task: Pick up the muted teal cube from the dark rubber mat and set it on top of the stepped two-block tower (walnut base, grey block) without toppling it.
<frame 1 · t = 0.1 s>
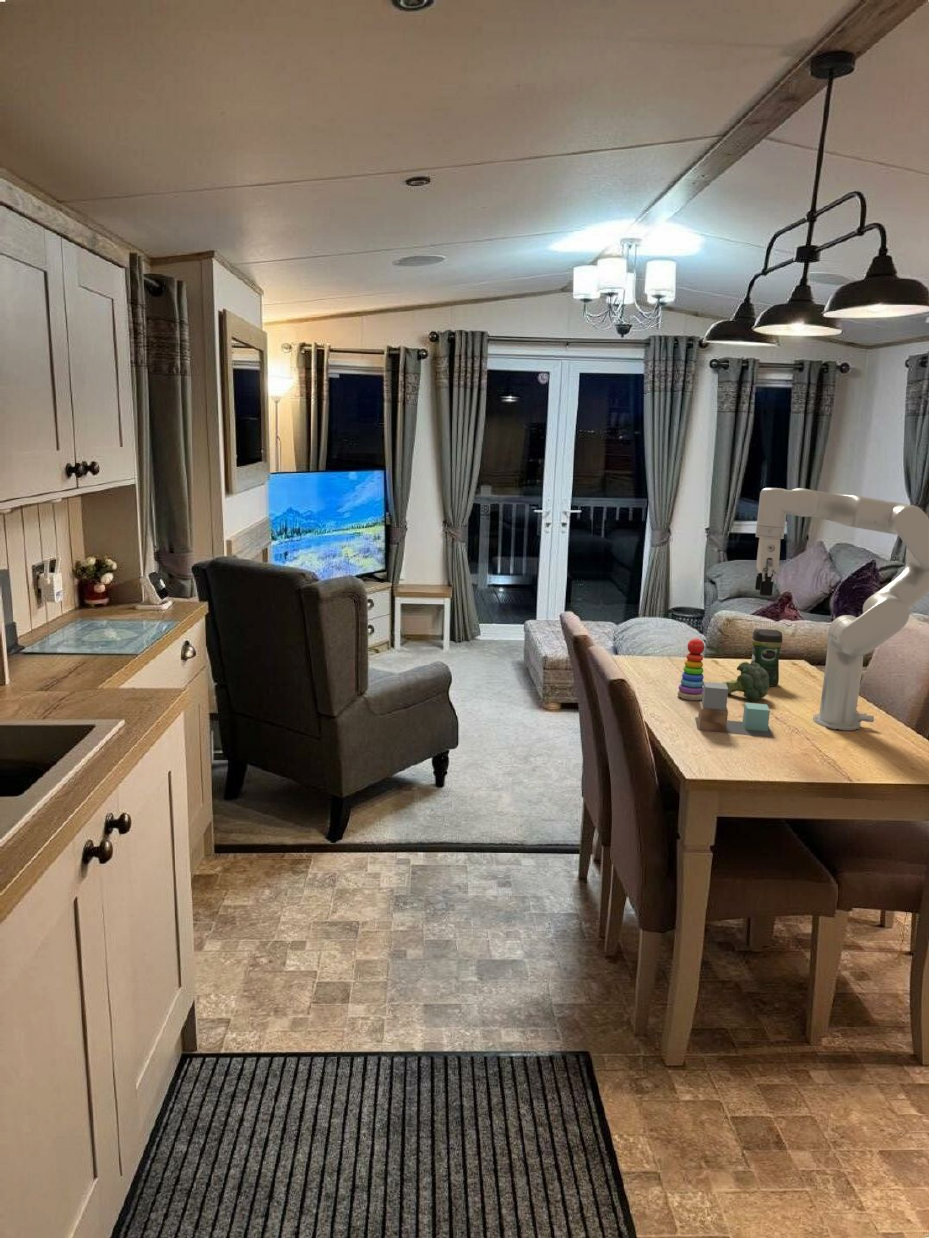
hand: (763, 592, 244), 37 cm above the table, tool pointing down, fingers open, 9 cm apart
tower base: (711, 727, 238), resting on mat, touching tower mid
teal cube: (754, 727, 240), resting on mat
vegetable: (744, 698, 270), on the table
mat: (733, 728, 239), on the table
tower mid: (713, 706, 237), point 6 cm above the table, touching tower base
coffee jar: (762, 684, 288), on the table
stacking toy: (690, 698, 268), on the table
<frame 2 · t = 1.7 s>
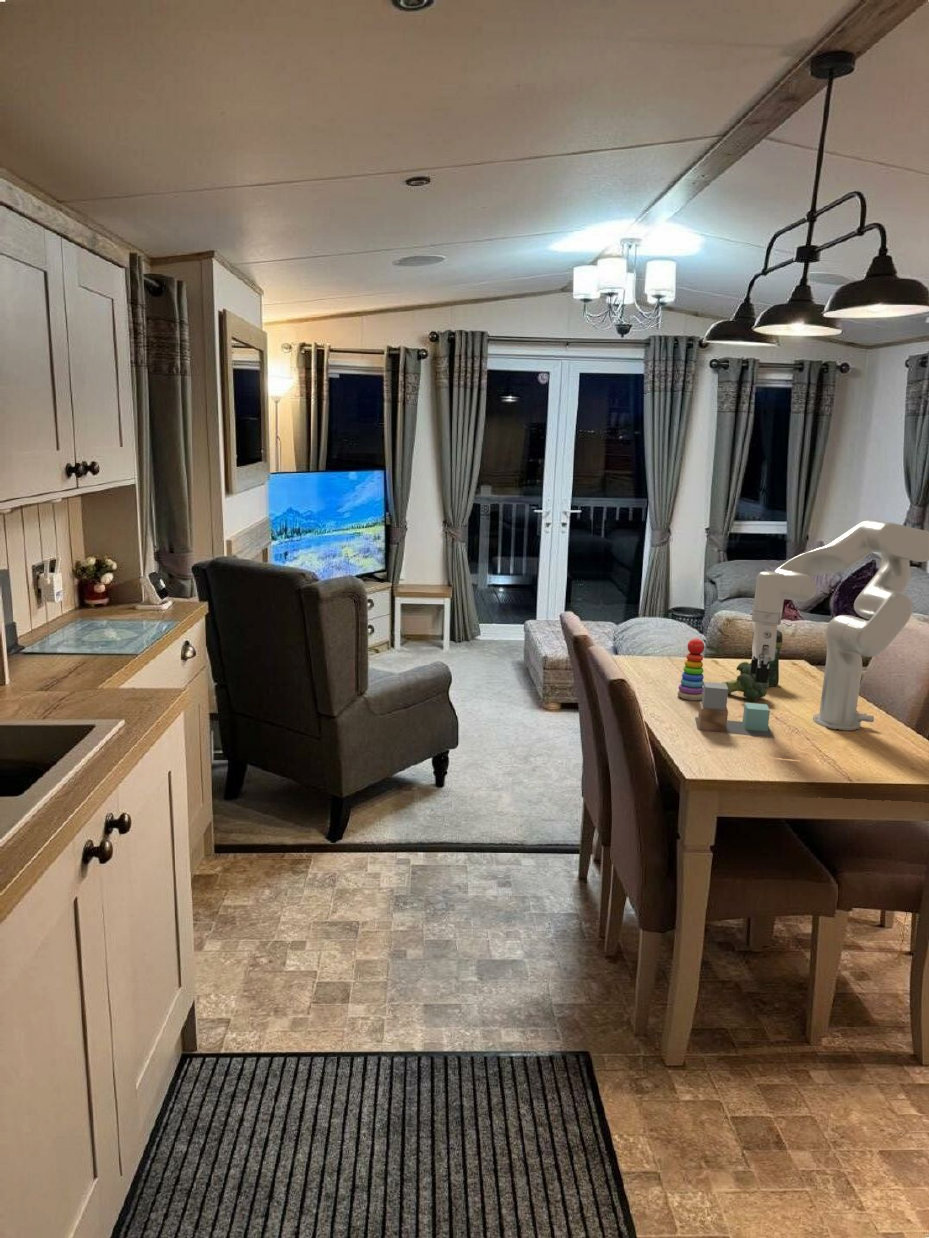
hand: (758, 678, 237), 15 cm above the table, tool pointing down, fingers open, 9 cm apart
nothing on the table moved.
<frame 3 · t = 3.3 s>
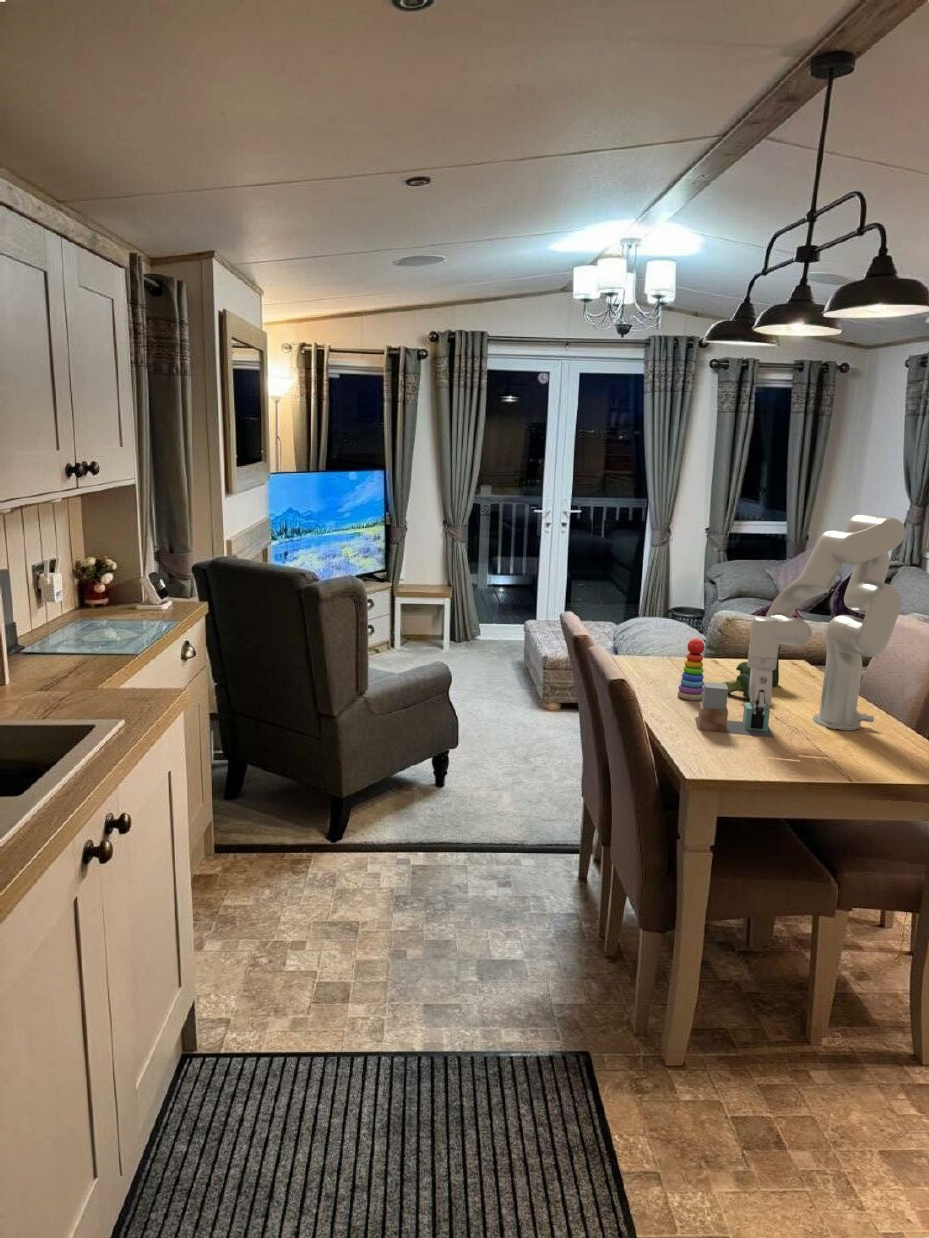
hand: (755, 723, 240), 1 cm above the table, tool pointing down, fingers closed on teal cube, 6 cm apart
teal cube: (754, 727, 240), resting on mat, touching gripper
everything else where it was.
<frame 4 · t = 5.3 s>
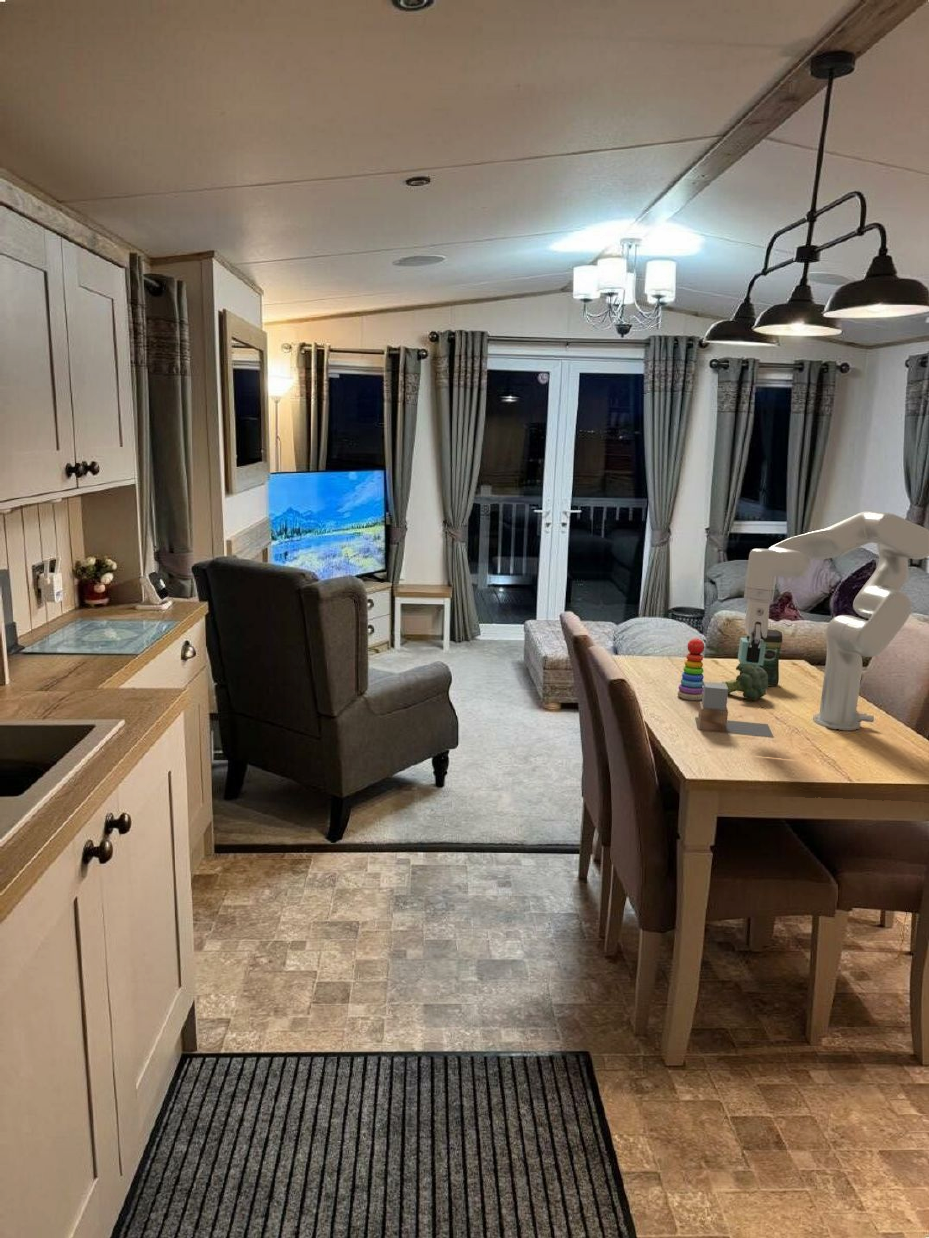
hand: (750, 658, 235), 20 cm above the table, tool pointing down, fingers closed on teal cube, 6 cm apart
teal cube: (750, 661, 236), point 19 cm above the table, touching gripper
everything else where it was.
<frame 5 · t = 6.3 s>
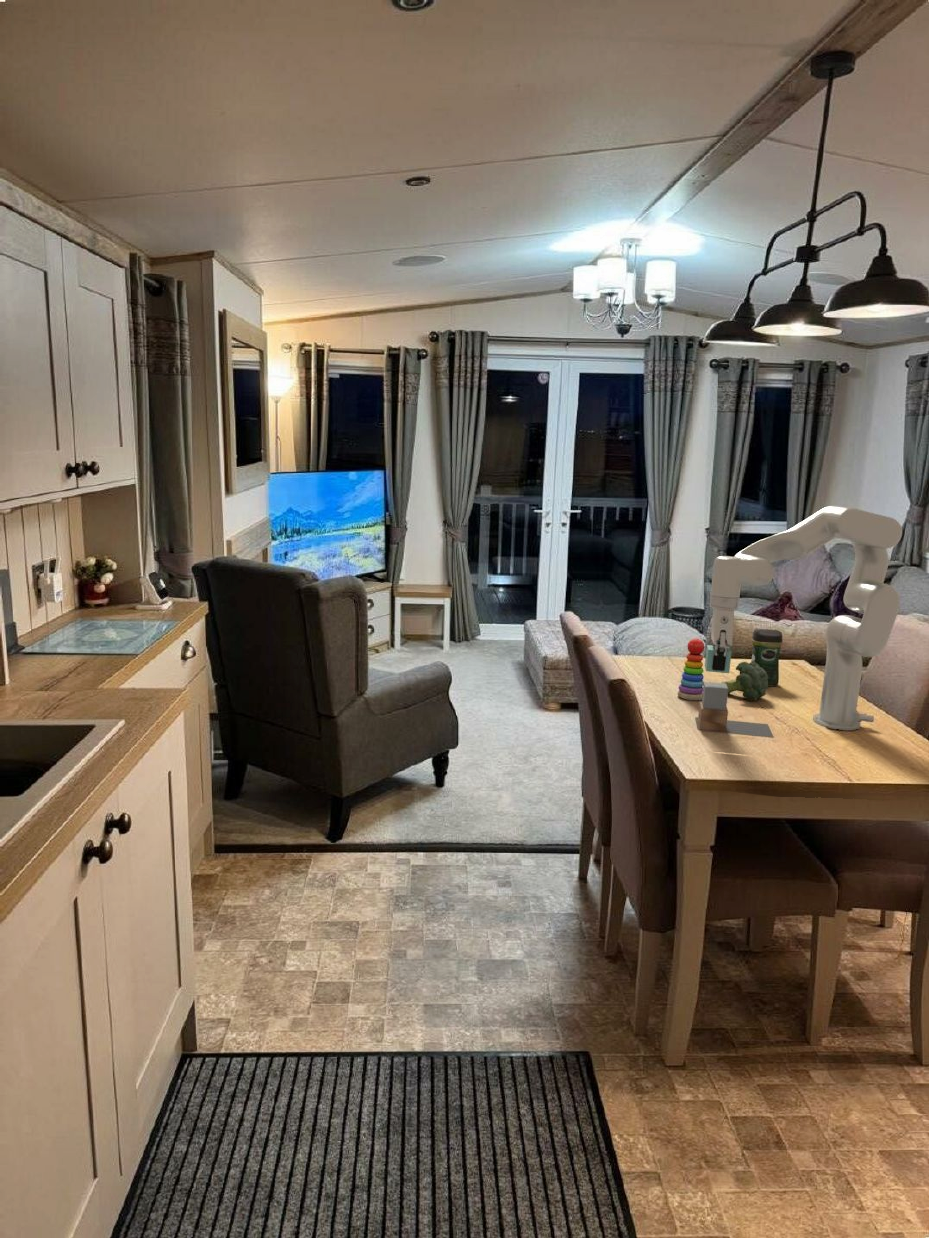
hand: (717, 666, 235), 18 cm above the table, tool pointing down, fingers closed on teal cube, 6 cm apart
teal cube: (716, 669, 235), point 17 cm above the table, touching gripper
everything else where it was.
when the fingers open (14 cm above the table, at t = 7.3 s): teal cube stays where it is, resting on tower mid.
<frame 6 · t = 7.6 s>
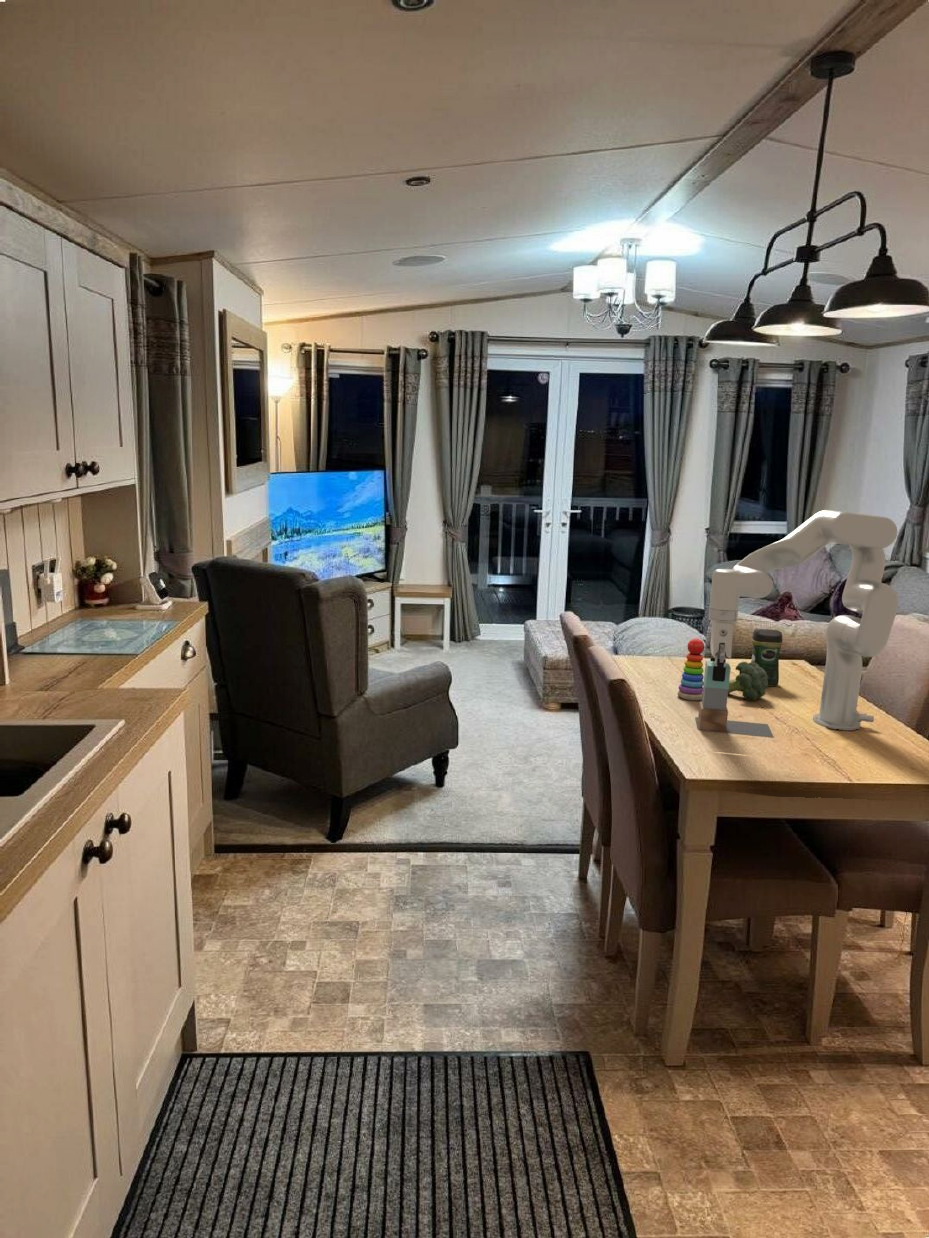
hand: (716, 676, 235), 15 cm above the table, tool pointing down, fingers open, 9 cm apart
teal cube: (715, 685, 236), point 12 cm above the table, touching tower mid
tower mid: (713, 706, 237), point 6 cm above the table, touching teal cube, tower base
everything else where it was.
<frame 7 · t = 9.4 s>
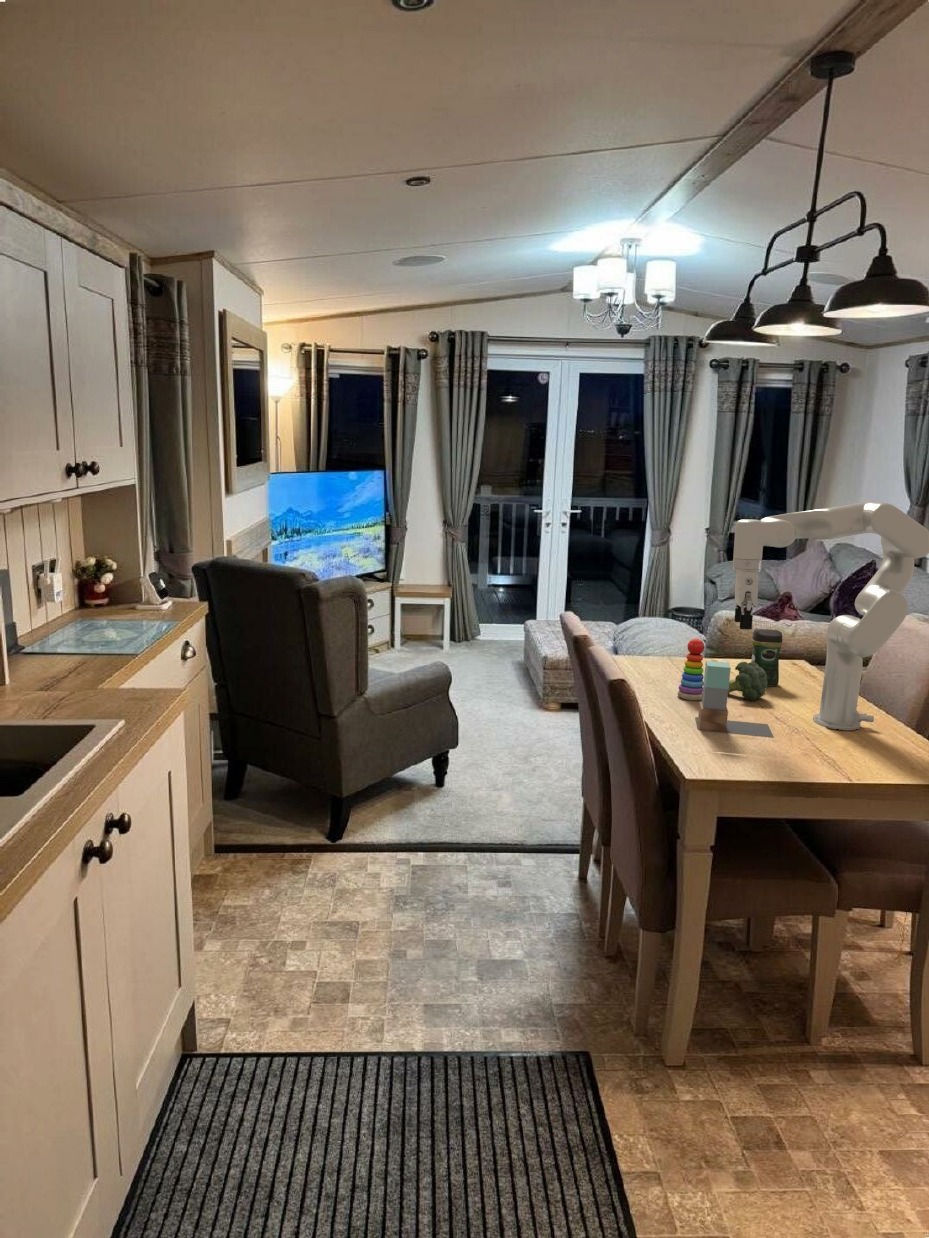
hand: (742, 625, 240), 28 cm above the table, tool pointing down, fingers open, 9 cm apart
nothing on the table moved.
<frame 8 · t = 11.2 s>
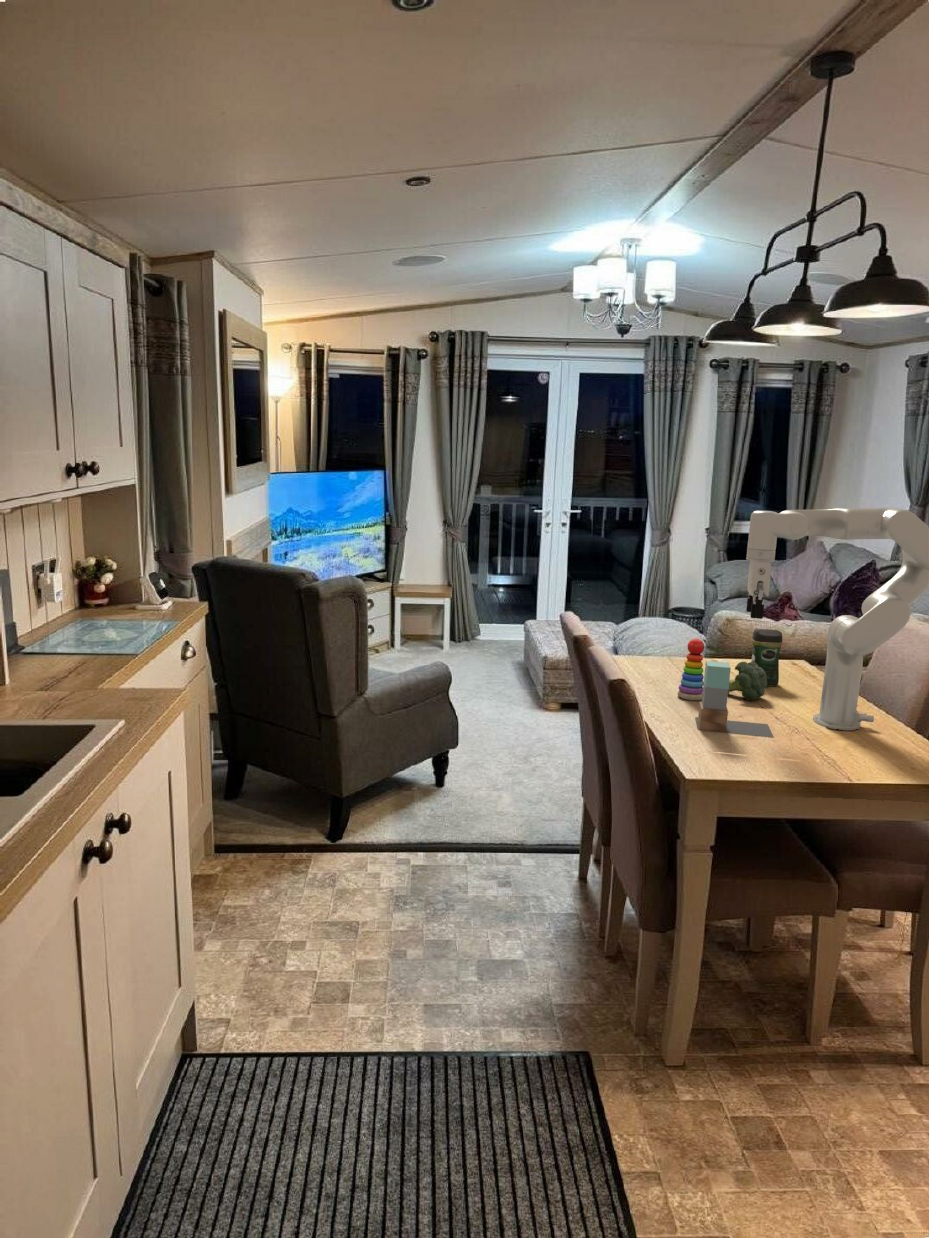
hand: (754, 615, 244), 30 cm above the table, tool pointing down, fingers open, 9 cm apart
nothing on the table moved.
at the end: teal cube 0.0 cm off-centre on the tower base, point 12.0 cm above the tower base's base; tower mid tilted 0°; teal cube tilted 0° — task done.
